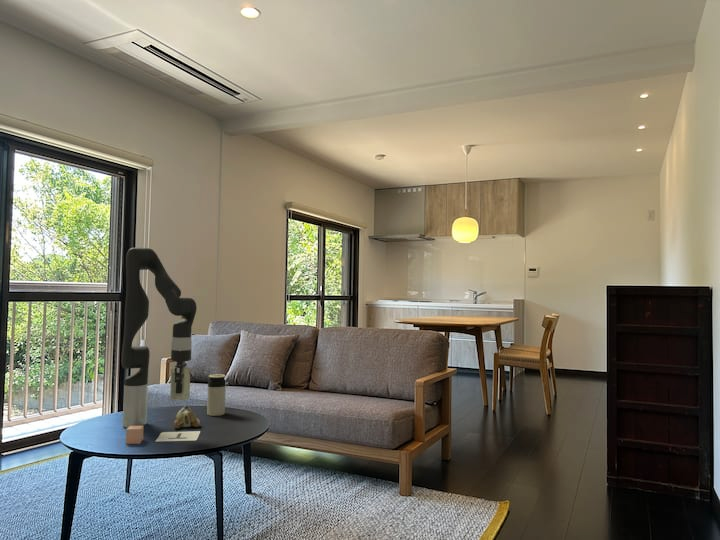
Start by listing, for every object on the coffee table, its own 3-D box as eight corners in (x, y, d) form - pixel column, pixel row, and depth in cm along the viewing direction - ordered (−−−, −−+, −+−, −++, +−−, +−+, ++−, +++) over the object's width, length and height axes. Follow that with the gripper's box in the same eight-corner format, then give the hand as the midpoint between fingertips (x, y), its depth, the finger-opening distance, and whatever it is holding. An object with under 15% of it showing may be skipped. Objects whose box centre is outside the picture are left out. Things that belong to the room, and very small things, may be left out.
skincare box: (190, 398, 208) (191, 367, 209) (184, 400, 204) (185, 368, 205) (175, 397, 210) (176, 366, 210) (169, 399, 206) (170, 367, 206)
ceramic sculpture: (197, 401, 232) (201, 411, 218) (197, 421, 232) (200, 432, 218) (172, 403, 228) (174, 413, 214) (171, 423, 228) (173, 434, 214)
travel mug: (218, 416, 241) (220, 377, 242) (203, 415, 243) (204, 376, 244) (227, 413, 249) (229, 374, 249) (213, 411, 251) (214, 373, 251)
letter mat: (161, 433, 212) (161, 432, 212) (200, 432, 214) (200, 431, 214) (155, 443, 199) (155, 441, 199) (196, 441, 202) (196, 440, 202)
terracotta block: (129, 441, 200) (129, 425, 200) (142, 441, 201) (143, 425, 201) (125, 445, 195) (126, 429, 195) (139, 445, 196) (140, 429, 196)
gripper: (174, 346, 214) (173, 388, 214) (168, 350, 200) (166, 395, 199) (193, 346, 216) (192, 388, 215) (188, 350, 201) (187, 395, 201)
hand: (179, 391), depth 207 cm, fingers closed on skincare box, 5 cm apart
